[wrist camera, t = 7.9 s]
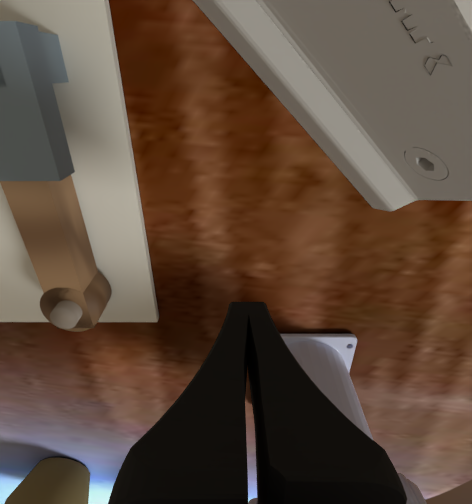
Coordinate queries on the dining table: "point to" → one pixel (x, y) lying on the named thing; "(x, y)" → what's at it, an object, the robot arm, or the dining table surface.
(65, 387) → the dining table surface
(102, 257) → the keeper board
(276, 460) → the robot arm
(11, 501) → the squeeze bottle
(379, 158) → the white rounded block
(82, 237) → the link arm
